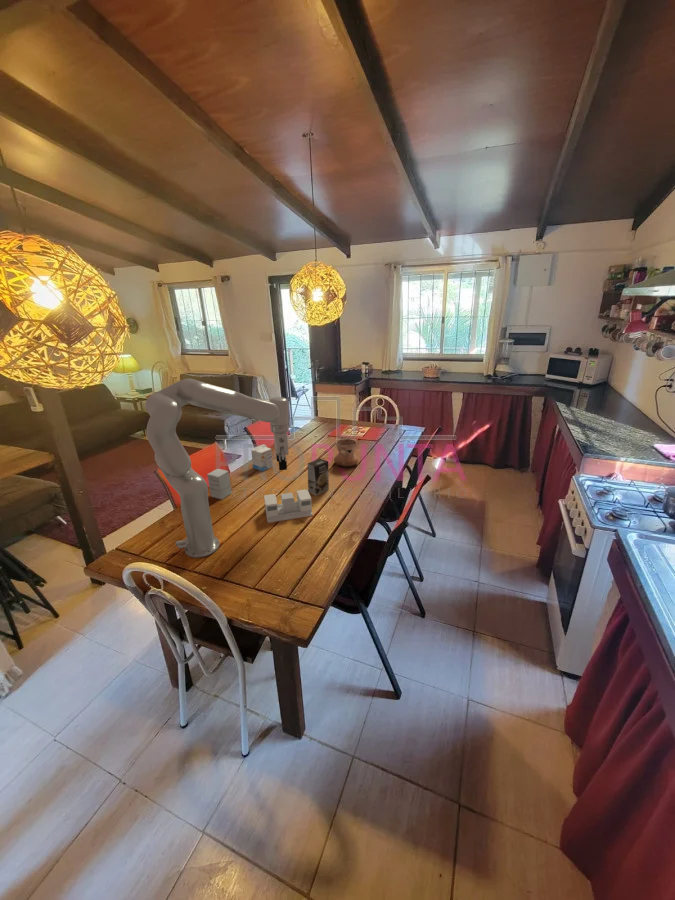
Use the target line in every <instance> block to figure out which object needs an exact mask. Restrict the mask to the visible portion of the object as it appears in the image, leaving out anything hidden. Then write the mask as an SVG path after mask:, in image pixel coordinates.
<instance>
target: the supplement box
mask: <svg viewBox="0 0 675 900" xmlns="http://www.w3.org/2000/svg"><path fill="white" fill-rule="evenodd" d="M206 474H207V481H208V486H209V487H208V488H209V492H210V497H212V498H215V499H218V500H224V499H225V498H227V497H228V496H230V495H231V494H232V486H231V479H230V472H229V470H226V469H221V468H217V469H214V470H213V471H210V472H209V473H206Z"/></svg>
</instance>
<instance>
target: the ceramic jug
mask: <svg viewBox="0 0 675 900" xmlns="http://www.w3.org/2000/svg"><path fill="white" fill-rule="evenodd" d="M335 444H336V449H337V451H338V453H337V454H336V455H334V457H333V461H334V463H335V464H336V465H338V466H340V467H353V466H355V465H357V463H358V462H359V458H358V456H357V455H356V454H354V452H355V450H356V448H357V444H358V442H357V441H356V440H355V439H351V438H341V439H338V440H336V441H335Z"/></svg>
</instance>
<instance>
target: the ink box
mask: <svg viewBox="0 0 675 900" xmlns="http://www.w3.org/2000/svg"><path fill="white" fill-rule="evenodd" d="M251 460H252V468H253V469H255V470H258V471H259V472H264V471H267V470H269V469H271V468H273V467H274V464H273V463H274V462H273V451H272V448H270V447H267V445H266V444H265V443H264V444H261V445H258V446H255V447H254V448H253V449H251Z"/></svg>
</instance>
